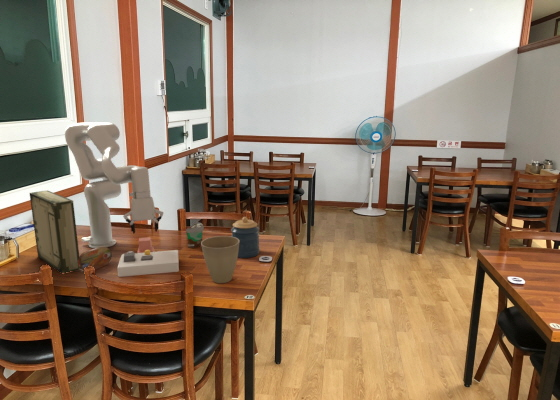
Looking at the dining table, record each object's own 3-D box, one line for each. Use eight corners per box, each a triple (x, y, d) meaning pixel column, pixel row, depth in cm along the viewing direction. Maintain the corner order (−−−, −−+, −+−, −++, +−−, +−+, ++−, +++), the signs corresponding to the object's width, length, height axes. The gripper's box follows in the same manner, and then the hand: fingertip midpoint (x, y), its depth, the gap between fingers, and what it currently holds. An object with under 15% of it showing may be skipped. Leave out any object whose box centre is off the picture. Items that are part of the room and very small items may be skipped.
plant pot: (212, 271, 184) (211, 234, 180) (245, 274, 180) (245, 237, 176) (196, 285, 170) (194, 245, 166) (231, 289, 166) (230, 249, 162)
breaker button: (124, 266, 184) (123, 256, 183) (125, 263, 188) (124, 253, 187) (134, 265, 185) (133, 255, 184) (135, 262, 188) (134, 252, 187)
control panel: (80, 269, 186) (73, 200, 179) (62, 274, 181) (53, 203, 174) (55, 252, 206) (47, 190, 200) (38, 256, 201) (29, 192, 195)
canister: (225, 253, 204) (224, 217, 200) (246, 247, 213) (245, 211, 209) (244, 260, 195) (244, 222, 192) (265, 253, 205) (264, 216, 201)
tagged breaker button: (142, 269, 186) (141, 259, 185) (142, 265, 190) (142, 255, 188) (152, 268, 187) (151, 258, 186) (152, 264, 190) (151, 255, 189)
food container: (199, 249, 210) (198, 229, 208) (186, 248, 212) (185, 228, 209) (208, 241, 222) (207, 222, 220) (196, 240, 223) (195, 221, 221)
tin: (82, 274, 181) (80, 254, 179) (77, 272, 183) (75, 253, 181) (113, 263, 193) (111, 244, 192) (108, 261, 195) (106, 243, 193)
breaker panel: (118, 276, 178) (116, 263, 177) (122, 262, 193) (121, 250, 192) (178, 271, 183) (178, 258, 182) (178, 258, 199) (177, 246, 197)
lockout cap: (137, 258, 198) (136, 242, 196) (138, 253, 204) (137, 237, 203) (153, 257, 200) (152, 240, 198) (153, 252, 206) (152, 236, 204)
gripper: (120, 197, 190) (124, 235, 194) (161, 194, 194) (164, 232, 197) (122, 194, 197) (126, 231, 201) (161, 191, 201) (165, 228, 204)
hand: (145, 231), depth 199 cm, fingers open, 9 cm apart
